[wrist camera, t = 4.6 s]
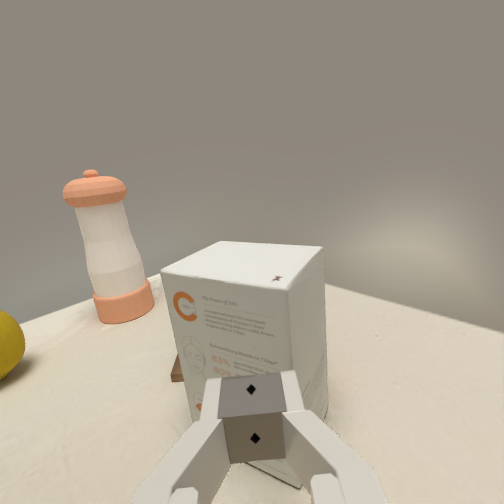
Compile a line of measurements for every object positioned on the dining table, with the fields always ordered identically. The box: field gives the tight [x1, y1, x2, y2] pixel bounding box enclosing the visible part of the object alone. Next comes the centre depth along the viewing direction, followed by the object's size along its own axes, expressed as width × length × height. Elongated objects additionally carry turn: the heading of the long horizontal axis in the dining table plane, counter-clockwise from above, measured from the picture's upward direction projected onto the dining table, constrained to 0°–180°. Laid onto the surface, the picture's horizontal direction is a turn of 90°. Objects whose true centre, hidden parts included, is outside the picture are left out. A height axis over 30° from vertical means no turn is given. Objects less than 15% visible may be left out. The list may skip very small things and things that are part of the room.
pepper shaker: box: [63, 170, 154, 324], centre depth 37 cm, size 7×7×19 cm
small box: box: [160, 241, 328, 488], centre depth 19 cm, size 8×6×13 cm
